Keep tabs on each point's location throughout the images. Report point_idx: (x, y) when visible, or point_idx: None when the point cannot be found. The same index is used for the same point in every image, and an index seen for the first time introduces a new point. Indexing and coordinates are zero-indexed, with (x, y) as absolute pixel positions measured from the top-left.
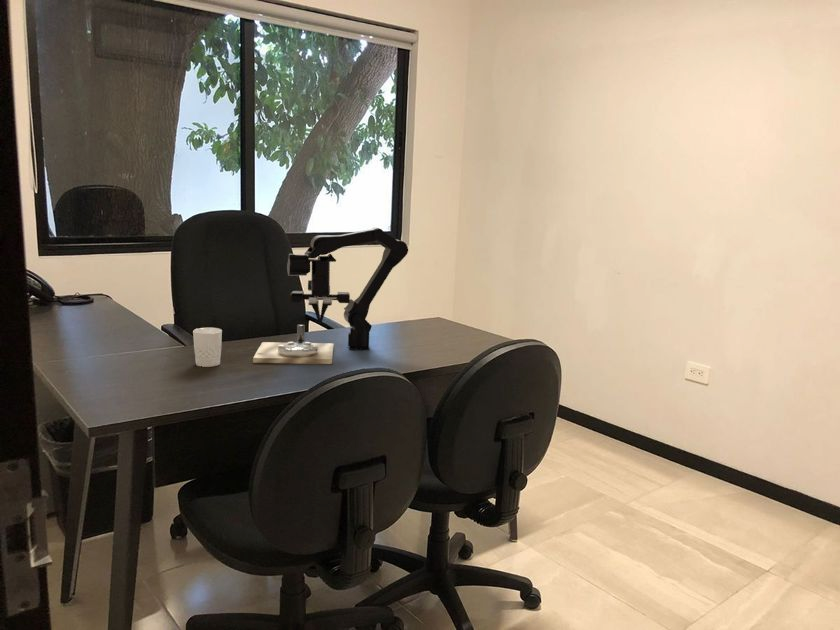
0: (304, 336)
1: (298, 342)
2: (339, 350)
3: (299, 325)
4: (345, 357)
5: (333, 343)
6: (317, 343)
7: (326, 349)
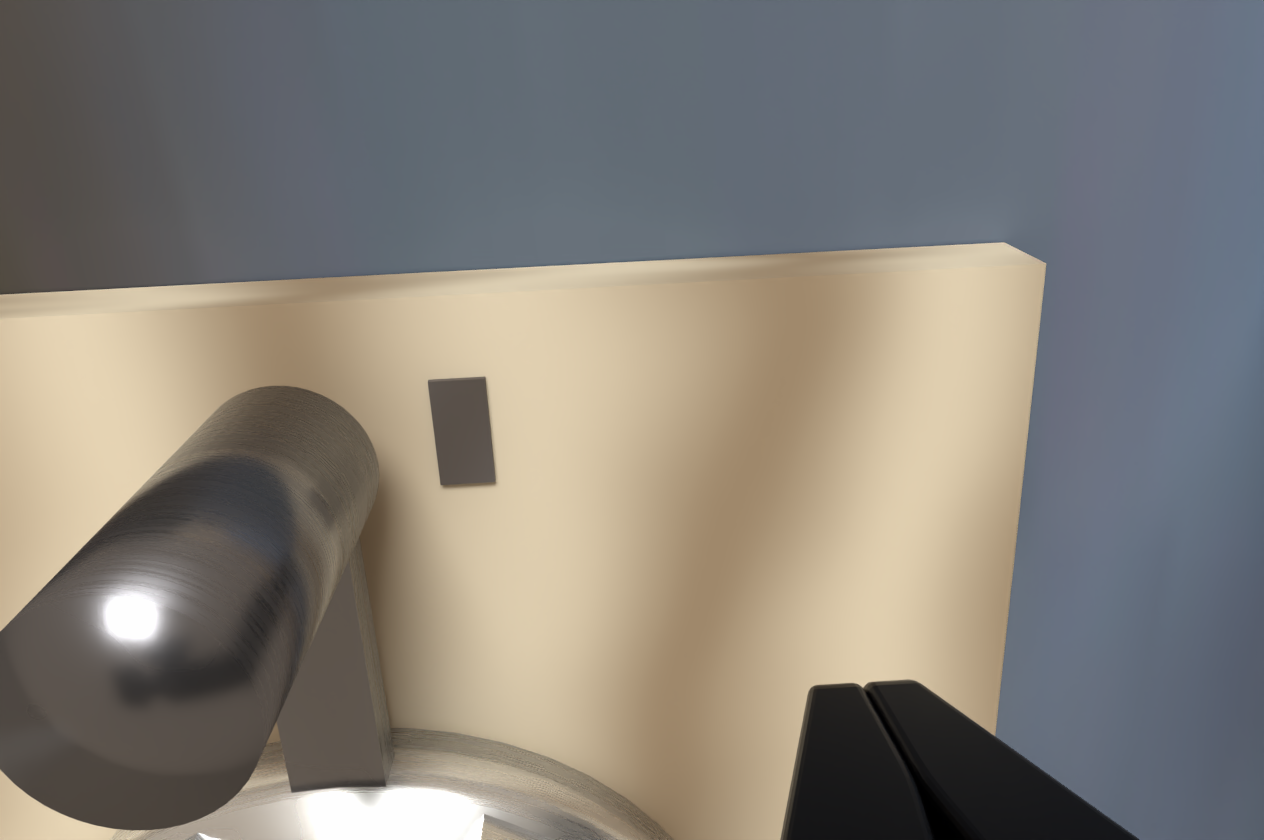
0: (354, 539)
1: (291, 711)
2: (1105, 426)
3: (76, 753)
4: (1148, 834)
5: (1043, 266)
6: (673, 317)
7: None
